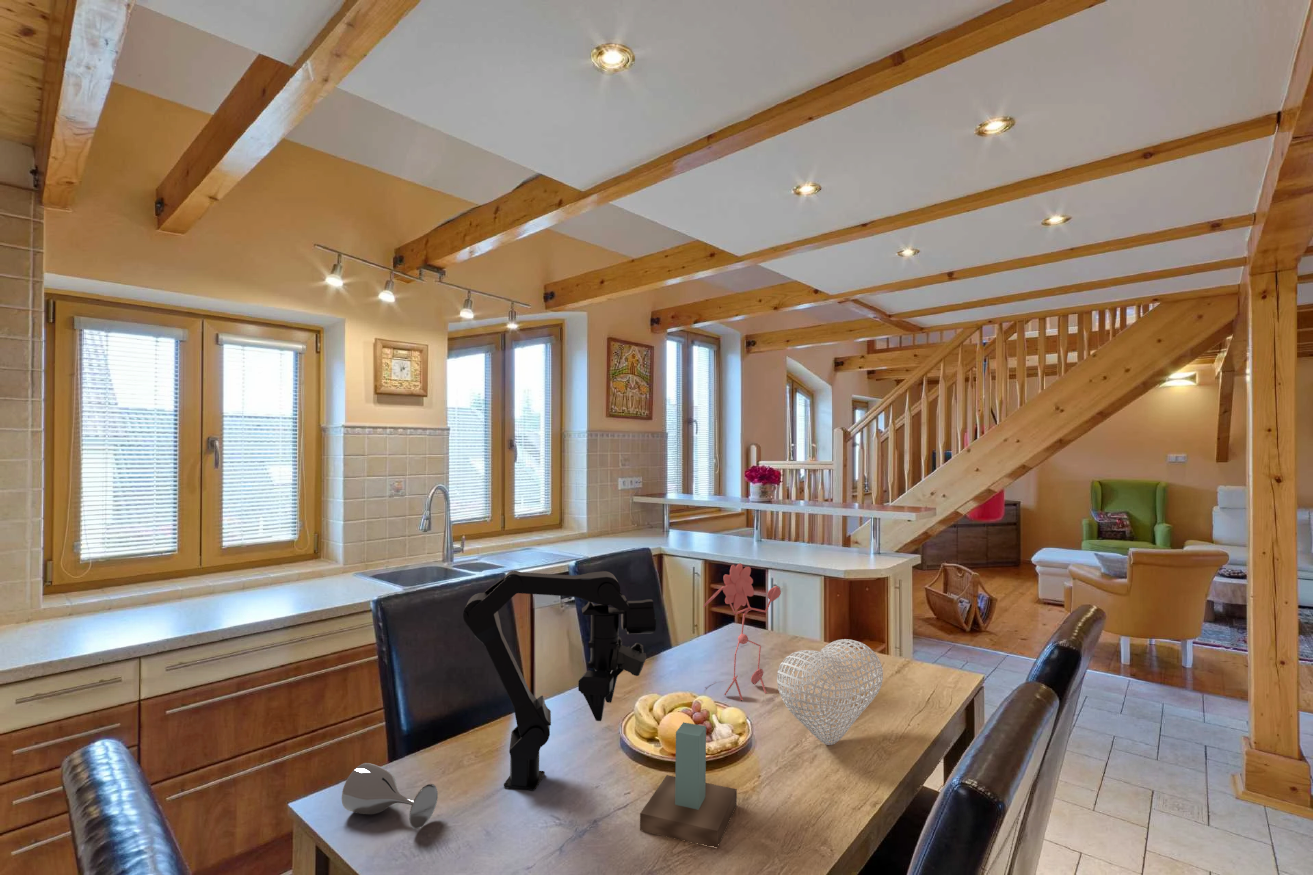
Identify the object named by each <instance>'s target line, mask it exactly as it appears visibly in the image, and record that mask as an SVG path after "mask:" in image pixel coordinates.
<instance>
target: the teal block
mask: <svg viewBox="0 0 1313 875" xmlns="http://www.w3.org/2000/svg"><path fill="white" fill-rule="evenodd" d="M706 762H707V726H706V725H701V724H696V723H689V722H684V721H683V722H682V723H681V725H680V726H679V728H678V729H677V731H676V732H675V776H674V777H675V805H679V806H684V807H688V808H693V809H697V810H699V808H700V806H701V804H702V802H703V801H704V799H705V787H706V783H707V782H706V778H707V776H706V774H707V773H706V772H707V771H706V767H707V763H706Z"/></svg>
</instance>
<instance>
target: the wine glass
mask: <svg viewBox="0 0 1313 875" xmlns="http://www.w3.org/2000/svg"><path fill="white" fill-rule="evenodd" d="M397 784H398V783H397V781H396V778H395V776H394V775H393V774H392V773H391V772H390V771H388V769H385V768H384V767H381V766H379V765H377V764H374V763H370V762H364V763H361V764H360V765H358V766H356V768H354V769H353V770H352V771H351V773H350V774H349V775H348V777H347V778H346V781H345V783H344V784H343V788H342V791H341V803H342V806H343V808H344V809H345V810H346V811H349V812H352V813H356V814H360V815H376V814H379V813H382V812H383V811H385V810H386V809H388V808H389V807H391V806H392V805H394V804H405V805H410V806H411V807H410V810H409V817H408V820H409V825H410V827H411V828H412V829H413V830H420V829H421V828H420V827H422V826H423V825H424V824H425V825H426V824H427V823H428V822H429V821H430V819H431V818H432V816H433V814H434V813H435V809H436V807H437V803H438V798H439V797H438V795H439V794H438V788H437V786H436V785H435V784H433V783H429V784H425V785H424V786H423V787H422V788H421V789H420V790H419V791H418V792H417V794H416V795H415V797H414V799H412V798H411V799H410V798H408V797H406V796H405V795H403V794H402V793H400V791H399V788H398V785H397ZM425 825H424V826H425ZM424 826H423V827H424ZM423 827H422V828H423ZM419 828H420V829H419Z"/></svg>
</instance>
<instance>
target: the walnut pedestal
mask: <svg viewBox="0 0 1313 875" xmlns="http://www.w3.org/2000/svg"><path fill="white" fill-rule="evenodd" d="M737 792H738V791H737V788H734V787H729V786H723V785H718V784H712V783H707V782H706V787H705V799H704V801H703V802H702V804H701V806H700V808H699V810H697V809H693V808H688V807H684V806H679V805H675V776H673V775H668V774H667V775H666V776H664V778H663V780H662V781H661V783H660V784H659V786H658V787H657V788H656V790H655V791H654V793H653V794H652V795H651V797H650V799H649V800H648V801H647V803H646V804H645V805H644V806H643V808H642V809H641V812H640V813H639V831H641V832H645V833H649V834H653V835H657V836H661V837H665V838H670V839H674V838H675V839H674V840H678V839H679V841H682V840H685V841H684V842H687V843H690V842H692V843H691V844H695V843H698V844H697V845H699V844H704V845H707V846H714V847H718V848H719V846H718V844H719V843H720V844H721V841H722V839H723V837H722V836H724V835H723V834H725V832H726V830H727V828H728V826H727V825H729V823H730V821H731V819H732V817H733V814H734V812H733V811H735V810H734V809H736V808H735V807H737V799H738V798H737ZM732 813H733V814H732ZM731 816H732V817H731ZM730 818H731V819H730ZM729 820H730V821H729ZM728 822H729V823H728ZM726 827H727V828H726ZM725 829H726V830H725ZM724 831H725V832H724ZM666 836H667V837H666ZM721 838H722V839H721ZM720 844H719V845H720ZM707 846H706V847H707Z"/></svg>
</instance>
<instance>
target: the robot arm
mask: <svg viewBox="0 0 1313 875" xmlns="http://www.w3.org/2000/svg"><path fill="white" fill-rule="evenodd" d="M516 594H524V595H540V596H541V595H542V596H559V597H572V598H573V597H574V598H578V599H582V600H584V601H586V602H587V604H585V605H584V606H583V607H581V612H582V615H583V616H590V639H589V641H588V643H587V645H588V646H587V648H589V649H590V660H589V661H588V662H587V669H594V670H586V671H585V673H583V674H582V675H581V677H580V678H579V680H578V686H577V687H578V688H577V689H578V691H579V692H580V693H581V694H582V695H583V696H584V699H585V701H586V702H587V705H588V706H589V709H590V710H591V713H592V715H593V717H594V719H595V721H596V722H601V721H602V719H603V715H604V710H605V703H610V704H611V703H612V702H613V697H614V694H615V693H614V692H615V688H616V684H617V681H618V677H619V675H620V674H621V673H622V672H623V671H626V672H628V673H630V674H631V675H633V676H636V677H639V676H640V675H641V672H642V670H643V669H644V668H643V667H644V665H645V663H646V662H645V661H646V660H647V653H646V652H644V645H643V644H641V643H639V642H636V643H634V644H633V645H632V646H630V645H628V646H626V645H623V639H622V638H621V637H620V636H619V630H620V629H619V628H620V627H621V630H625V632H626V634H627V635H643V634H644V635H645V634H648V635H649V634H655V632H656V627H657V619H656V617H655V609H654V600H653V599H643V600H628V599H627V598H626V596H625V595H624V594H623V593H622V591H621V586H620V583H619V581H618V580H617V578H616V576H615V575H614V574H613V573H611V572H610V571H606V570H605V571H604V570H602V571H595V572H588V573H587V572H586V573H582V574H576V575H573V574H571V575H568V574H556V573H555V574H554V573H552V574H551V573H539V572H527V571H526V572H525V571H523V572H521V571H518V570H510V571H508V572H507V573H506V574H505V576H504V577H502V578H501V579H499V580H498V581H497V582H495V583H494V584H492V585H491V586H490V587H489V588H487V589H486V590H485V591H484V592H478V593H475V594H474V595H472V596H471V597H470V598H469V599H468V601H467V603H466V605H465V607H464V609H463V613H462V618H463V622H464V623H465V625H466V626H467V628H468V629H469V631H471V633H472V634H473V636H474V637H475V638H476V639H477V640H478V641H479V642H480V643H481V644H482V645H483V646H484V648H485V650H486V652H487V655H488V657H489V658H490V661H491V663H492V665H493V667H494V670H495V672H496V673H497V676H498V677H499V680H500V682H501V684H502V686H503V688H504V690H505V693H506V694H507V696H508V698H509V701H510V703H511V705H512V707H513V710H514V716H515V722H516V726H515V728H513V729H512V730H511V734H510V742H509V751H508V752H509V754H510V758H509V761H510V762H509V764H510V765H509V770H510V771H509V772H510V773H509V777H508V778H507V779H506V780H505V782H504V783H503V788H506V789H507V788H508V789H517V790H518V789H519V790H531V791H534V790H536V789H537V787H538V786H539V785H540V782H541V781H542V779H543V778H544V776H545V774H546V772H545V770H540V751H541V748H542V747H543V746H545V745H546V743H547V742H548V741H549V738H550V735H551V734H550V732H551V731H550V730H551V729H550V726H552V717H551V716H552V715H551V714H552V712H551V710H550V708H548V706H547V705H546V702H545V698H544V695H540V696H539V697H536V696H535V695H533V693H532V692H531V691H530V689H529V688H530V687H529V686H528V684H527V682H526V679H525V678H524V676H523V675H524V674H523V673H522V672H521V669H520V667H519V665H518V662H517V661H516V658H515V657H514V655H513V652H512V651H511V649H510V645H509V644H508V642H507V640H506V638H505V636H504V633H503V631H502V624H501V619H500V615H499V614H500V613H499V610H501V609H502V608H503V607H504V606H505V605H506V604H507V603H508V602H509V601H510V600H511V599H512V598H513V597H514V596H515V595H516ZM594 603H595V604H594ZM609 606H610V607H609ZM619 615H620V616H619ZM619 624H620V625H621V626H620V625H619ZM619 626H620V627H619Z"/></svg>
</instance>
